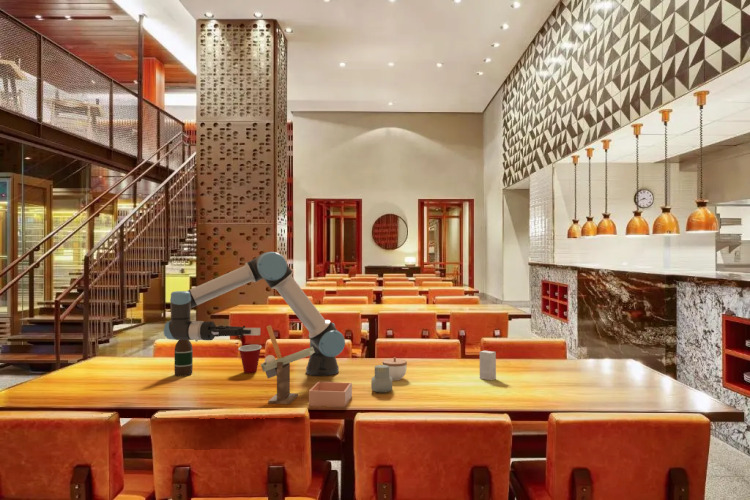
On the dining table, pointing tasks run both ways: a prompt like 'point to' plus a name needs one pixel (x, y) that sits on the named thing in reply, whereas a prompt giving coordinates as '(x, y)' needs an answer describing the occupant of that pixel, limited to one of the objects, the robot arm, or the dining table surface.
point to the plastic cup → (250, 357)
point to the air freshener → (381, 379)
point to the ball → (269, 359)
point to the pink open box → (330, 394)
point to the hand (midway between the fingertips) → (259, 331)
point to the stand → (283, 386)
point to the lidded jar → (396, 368)
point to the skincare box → (487, 365)
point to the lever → (272, 367)
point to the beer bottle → (183, 358)
